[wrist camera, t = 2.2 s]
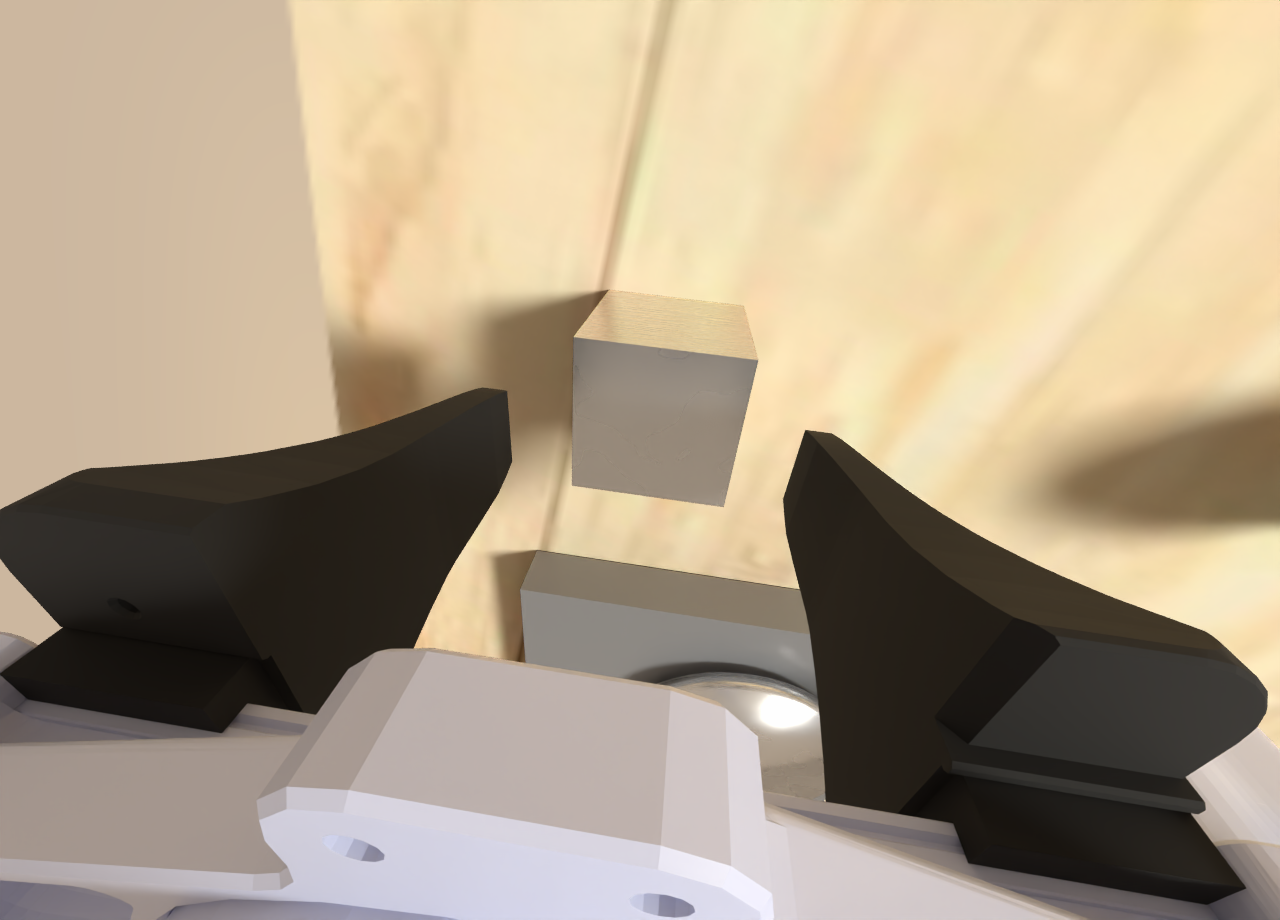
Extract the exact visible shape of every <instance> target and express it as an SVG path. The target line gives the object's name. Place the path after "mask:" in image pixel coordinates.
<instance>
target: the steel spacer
mask: <svg viewBox="0 0 1280 920" xmlns="http://www.w3.org/2000/svg"><path fill="white" fill-rule="evenodd" d="M757 363H758V357H757V353H756V350H755V346H754V342H753V339H752V335H751V331H750V327H749V324H748V320H747V316H746V312H745V309H744V306H741V305H733V304H724V303H716V302H708V301H699V300H691V299H683V298H674V297H666V296H658V295H649V294H641V293H633V292H624V291H616V290H609V291H608V292H607V293H606V294H605V296H604V297H603V298H602V300H601V301H600V302H599V304H598V305H597V306H596V308H595V309H594V310H593V312H592V313H591V314H590V316H589V317H588V318H587V320H586V321H585V322H584V324H583V325H582V326H581V328H580V329H579V330H578V331H577V333H576V334H575V335H574V337H573V425H572V486H579V487H586V488H593V489H600V490H607V491H614V492H621V493H628V494H635V495H642V496H649V497H656V498H663V499H670V500H677V501H684V502H691V503H699V504H706V505H713V506H720V507H724V503H725V499H726V495H727V491H728V486H729V482H730V478H731V474H732V469H733V465H734V461H735V457H736V452H737V448H738V444H739V440H740V435H741V431H742V427H743V423H744V419H745V414H746V410H747V406H748V402H749V397H750V393H751V389H752V385H753V380H754V376H755V372H756V368H757Z"/></svg>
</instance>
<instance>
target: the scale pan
mask: <svg viewBox="0 0 1280 920" xmlns="http://www.w3.org/2000/svg"><path fill="white" fill-rule="evenodd" d="M657 684H659V685H665V686H671V687H674V688H677V689H680V690H683V691H686V692H689V693H692V694H695V695H698V696H701V697H705V698H708V699H711V700H714V701H717V702H718V703H720V704H721V705H722V706H723V707H724V708H726V709H727V710H728V711H729V712H730V713H731V714H733V715H734V716H735V717H736V718H737V719H738V720H739V721H741V722H742V723H743V724H744V725H745V726H746V727H747V728H749V729H750V730H751V731H752V732H753V733H754V734H755V735H757V736H758V745H759V756H760V767H761V778H762V788H763V791H765V792H771V793H777V794H783V795H789V796H795V797H801V798H807V799H814V798H816V797H818V796H820V795H823V794H824V793H825V781H824V765H823V753H822V740H821V728H820V716H819V706H818V698H817V697H816V696H814V695H813V694H811V693H809V692H807V691H805V690H803V689H801V688H798V687H796V686H793V685H791V684H788V683H785V682H782V681H779V680H775V679H772V678H767V677H762V676H757V675H751V674H743V673H730V672H710V673H698V674H690V675H685V676H680V677H675V678H672V679H669V680H665V681H662V682H660V683H657Z"/></svg>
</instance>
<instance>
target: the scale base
mask: <svg viewBox="0 0 1280 920" xmlns="http://www.w3.org/2000/svg"><path fill="white" fill-rule="evenodd" d="M520 595H521V608H522V621H523V634H524V648H525V661H526V663H528V664H535V665H541V666H547V667H553V668H560V669H566V670H572V671H578V672H584V673H591V674H597V675H603V676H609V677H616V678H622V679H628V680H634V681H640V682H647V683H653V684H657V683H660V682H662V681H665V680H669V679H672V678H675V677H680V676H685V675H690V674H698V673H710V672H730V673H743V674H751V675H757V676H762V677H767V678H772V679H775V680H779V681H782V682H785V683H788V684H791V685H793V686H796V687H798V688H801V689H803V690H805V691H807V692H809V693H811V694H813V695H814V696H816V697H817V688H816V678H815V669H814V662H813V654H812V647H811V639H810V631H809V626H808V621H807V616H806V611H805V608H804V604H803V600H802V596H801V592H800V590H796V589H789V588H783V587H776V586H770V585H763V584H756V583H750V582H743V581H736V580H730V579H723V578H717V577H710V576H703V575H697V574H690V573H683V572H677V571H670V570H663V569H657V568H650V567H644V566H637V565H630V564H624V563H617V562H610V561H604V560H597V559H590V558H584V557H577V556H571V555H564V554H557V553H551V552H544V551H537V552H536V554H535V556H534V559H533V561H532V563H531V565H530V568H529V570H528V572H527V575H526V577H525V579H524V582H523V584H522V586H521V588H520ZM817 698H818V697H817ZM812 800H818V801H824V800H825V793H824V794H823V795H820V796H818V797H816V798H814V799H812Z"/></svg>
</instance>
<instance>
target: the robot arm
mask: <svg viewBox="0 0 1280 920" xmlns="http://www.w3.org/2000/svg"><path fill="white" fill-rule="evenodd" d="M511 463H512V452H511V438H510V425H509V412H508V398H507V391H504V390H497V389H489V388H479V389H475V390H471V391H468V392H465V393H462V394H460V395H457V396H454V397H452V398H449V399H446V400H444V401H441V402H439V403H436V404H433V405H431V406H428V407H426V408H423V409H420V410H418V411H415V412H413V413H410V414H407V415H404V416H401V417H398V418H395V419H392V420H390V421H387V422H384V423H381V424H378V425H375V426H372V427H369V428H366V429H362V430H359V431H355V432H352V433H348V434H344V435H340V436H337V437H333V438H329V439H325V440H321V441H317V442H312V443H306V444H301V445H297V446H291V447H286V448H280V449H275V450H270V451H265V452H259V453H253V454H246V455H238V456H231V457H224V458H215V459H207V460H198V461H188V462H178V463H166V464H151V465H137V466H123V467H108V468H90V469H86V470H82V471H79V472H76V473H73V474H71V475H69V476H67V477H65V478H63V479H61V480H59V481H57V482H55V483H53V484H51V485H49V486H47V487H44V488H43V489H40V490H39V491H37V492H34V493H33V494H31V495H28V496H26V497H24V498H22V499H20V500H18V501H16V502H14V503H12V504H10V505H8V506H6V507H4V508H2V509H1V510H0V559H1V560H2V562H3V563H4V564H5V566H6V567H7V568H8V569H9V571H10V572H11V573H12V574H13V575H14V576H15V577H16V579H17V580H18V581H19V582H20V583H21V584H22V585H23V586H24V587H25V588H26V589H27V591H28V592H29V593H30V594H31V595H32V596H33V597H34V598H35V599H36V600H37V601H38V602H39V604H40V605H41V606H42V607H43V608H44V609H45V610H46V611H47V612H48V613H49V614H50V616H52V618H53V619H54V620H55V621H56V622H57V623H58V624H59V625H60V626H61V627H63V628H62V629H60V630H59V631H57V632H56V633H55V634H53V635H52V636H51V637H49V638H48V639H46V640H45V641H44V642H42V643H41V644H40V645H37V644H35V643H34V642H32V641H29V640H28V639H25V638H24V637H21V636H18V635H14V634H11V633H5V632H0V920H1280V749H1279V748H1278V747H1277V746H1276V745H1275V744H1274V743H1273V742H1272V741H1271V740H1270V739H1269V738H1268V737H1267V736H1266V735H1265V734H1264V733H1263V732H1262V731H1261V730H1260V729H1259V727H1258V725H1259V723H1260V722H1261V720H1262V719H1263V717H1264V715H1265V714H1266V710H1267V699H1268V691H1267V690H1266V688H1265V687H1264V686H1263V684H1262V683H1261V682H1260V680H1259V679H1258V677H1257V676H1256V675H1255V674H1253V673H1252V672H1251V671H1250V670H1249V669H1248V668H1247V667H1246V666H1245V665H1244V664H1243V663H1242V662H1241V661H1240V660H1239V659H1237V658H1236V657H1235V656H1234V655H1233V654H1232V653H1231V652H1230V651H1229V650H1228V649H1227V648H1226V647H1225V646H1224V645H1222V644H1221V643H1220V642H1219V641H1218V640H1217V639H1215V638H1214V637H1213V636H1212V635H1210V634H1209V633H1207V632H1205V631H1203V630H1200V629H1197V628H1194V627H1192V626H1189V625H1186V624H1183V623H1181V622H1178V621H1175V620H1173V619H1170V618H1167V617H1164V616H1162V615H1159V614H1156V613H1153V612H1151V611H1148V610H1145V609H1142V608H1140V607H1137V606H1134V605H1132V604H1129V603H1126V602H1123V601H1121V600H1118V599H1115V598H1113V597H1110V596H1108V595H1105V594H1103V593H1100V592H1098V591H1096V590H1093V589H1091V588H1089V587H1086V586H1084V585H1081V584H1079V583H1077V582H1074V581H1072V580H1070V579H1067V578H1065V577H1062V576H1060V575H1058V574H1056V573H1054V572H1051V571H1049V570H1047V569H1045V568H1043V567H1040V566H1038V565H1036V564H1034V563H1032V562H1030V561H1028V560H1026V559H1024V558H1022V557H1020V556H1018V555H1016V554H1014V553H1012V552H1010V551H1008V550H1006V549H1004V548H1002V547H1000V546H998V545H996V544H994V543H992V542H990V541H988V540H986V539H985V538H983V537H981V536H979V535H977V534H975V533H974V532H972V531H970V530H969V529H967V528H965V527H963V526H962V525H960V524H958V523H957V522H955V521H953V520H952V519H950V518H948V517H947V516H945V515H943V514H942V513H940V512H939V511H937V510H936V509H934V508H932V507H931V506H929V505H928V504H927V503H925V502H924V501H922V500H921V499H919V498H918V497H916V496H915V495H914V494H912V493H911V492H909V491H908V490H906V489H905V488H904V487H902V486H901V485H900V484H898V483H897V482H896V481H894V480H893V479H892V478H890V477H889V476H888V475H886V474H885V473H884V472H882V471H881V470H880V469H879V468H877V467H876V466H875V465H874V464H872V463H871V462H870V461H868V460H867V459H866V458H865V457H863V456H862V455H861V454H860V453H858V452H857V451H856V450H855V449H853V448H852V447H851V446H849V445H848V444H847V443H845V442H844V441H843V440H841V439H840V438H838V437H837V436H835V435H833V434H832V433H824V432H816V431H809V430H805V433H804V436H803V439H802V442H801V445H800V448H799V451H798V454H797V458H796V461H795V464H794V467H793V470H792V473H791V476H790V479H789V482H788V485H787V489H786V492H785V495H784V498H783V503H784V517H785V527H786V535H787V539H788V543H789V548H790V552H791V556H792V560H793V564H794V568H795V572H796V576H797V580H798V584H799V588H800V592H801V596H802V600H803V604H804V608H805V611H806V616H807V621H808V626H809V631H810V639H811V647H812V654H813V662H814V669H815V678H816V688H817V697H818V706H819V716H820V728H821V740H822V753H823V765H824V781H825V799H826V802H824V801H818V800H812V799H807V798H801V797H795V796H789V795H783V794H777V793H771V792H765V791H763V788H762V778H761V767H760V756H759V745H758V736H757V735H755V734H754V733H753V732H752V731H751V730H750V729H749V728H747V727H746V726H745V725H744V724H743V723H742V722H741V721H739V720H738V719H737V718H736V717H735V716H734V715H733V714H731V713H730V712H729V711H728V710H727V709H726V708H724V707H723V706H722V705H721V704H720V703H718V702H717V701H714V700H711V699H708V698H705V697H701V696H698V695H695V694H692V693H689V692H686V691H683V690H680V689H677V688H674V687H671V686H665V685H659V684H653V683H647V682H640V681H634V680H628V679H622V678H616V677H609V676H603V675H597V674H591V673H584V672H578V671H572V670H566V669H560V668H553V667H547V666H541V665H535V664H528V663H522V662H516V661H510V660H504V659H497V658H491V657H485V656H479V655H472V654H466V653H460V652H454V651H448V650H441V649H435V648H422V649H413V648H414V646H415V644H416V642H417V639H418V637H419V635H420V633H421V630H422V628H423V626H424V624H425V622H426V619H427V617H428V615H429V613H430V610H431V608H432V606H433V604H434V602H435V600H436V598H437V596H438V594H439V592H440V590H441V588H442V586H443V584H444V582H445V579H446V577H447V575H448V574H449V572H450V570H451V568H452V567H453V565H454V563H455V561H456V560H457V558H458V557H459V555H460V553H461V552H462V550H463V549H464V547H465V546H466V544H467V542H468V541H469V539H470V538H471V536H472V535H473V533H474V531H475V530H476V528H477V527H478V525H479V524H480V522H481V520H482V519H483V517H484V516H485V514H486V513H487V511H488V509H489V508H490V506H491V505H492V503H493V501H494V500H495V498H496V496H497V495H498V493H499V491H500V489H501V487H502V484H503V482H504V480H505V478H506V475H507V473H508V470H509V468H510V465H511Z"/></svg>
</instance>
